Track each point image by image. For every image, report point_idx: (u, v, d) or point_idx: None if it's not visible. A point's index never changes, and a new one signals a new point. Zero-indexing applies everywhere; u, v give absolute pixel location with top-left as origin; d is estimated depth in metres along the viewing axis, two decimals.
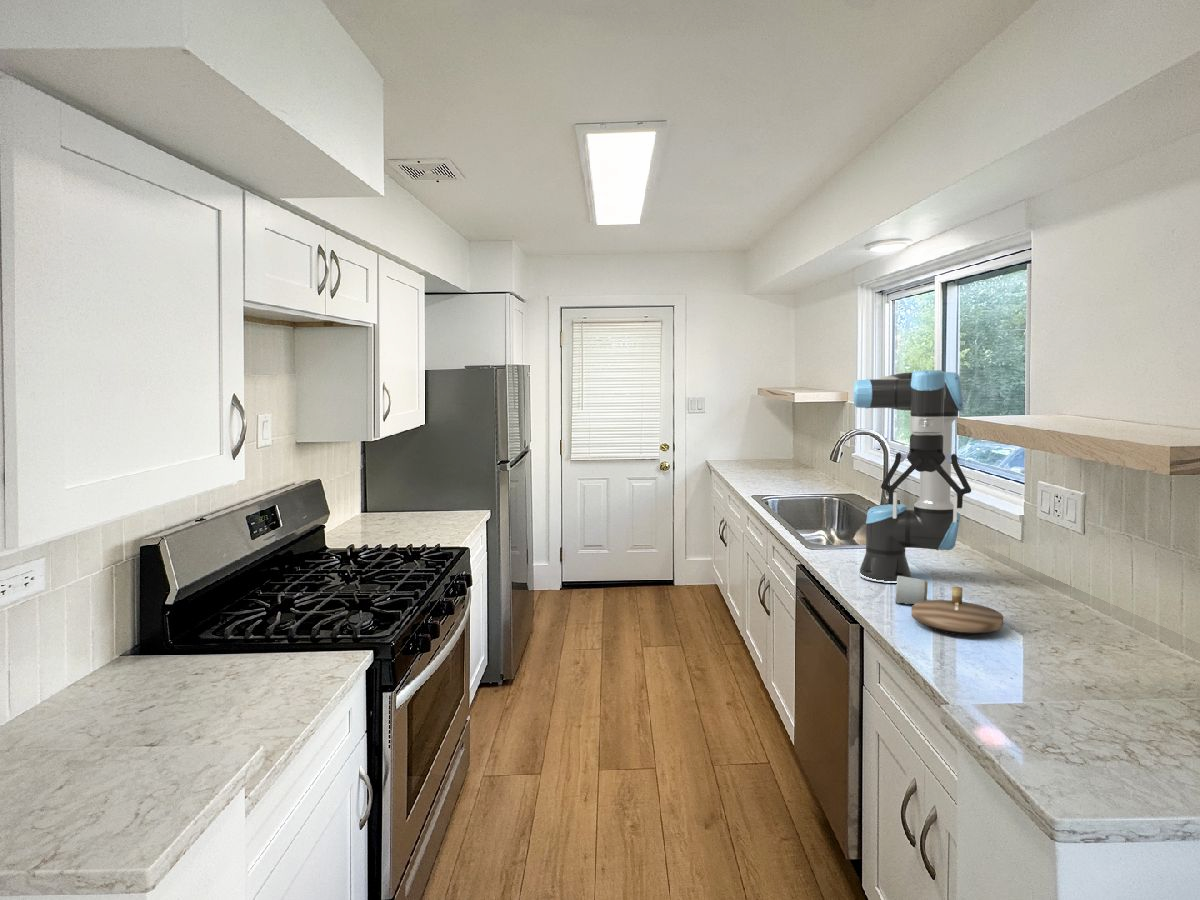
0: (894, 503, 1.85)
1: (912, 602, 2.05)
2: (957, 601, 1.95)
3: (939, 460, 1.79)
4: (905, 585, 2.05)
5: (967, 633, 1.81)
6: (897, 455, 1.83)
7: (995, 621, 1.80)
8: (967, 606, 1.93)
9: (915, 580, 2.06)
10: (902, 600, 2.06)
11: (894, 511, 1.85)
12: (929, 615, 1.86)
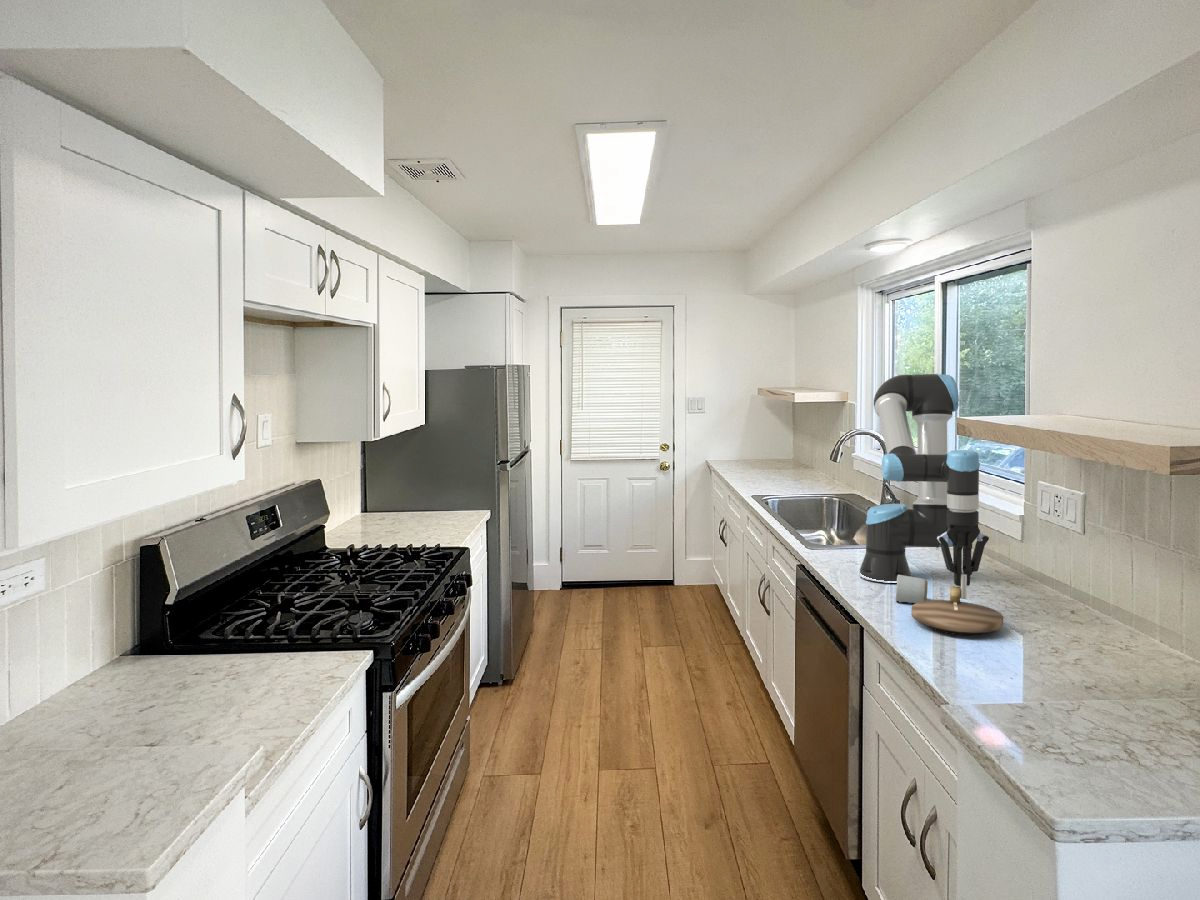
0: None
1: (912, 601, 2.06)
2: (955, 601, 1.95)
3: None
4: (905, 584, 2.06)
5: (967, 633, 1.81)
6: None
7: (996, 620, 1.81)
8: (965, 605, 1.93)
9: (915, 579, 2.07)
10: (902, 599, 2.07)
11: None
12: (930, 615, 1.85)
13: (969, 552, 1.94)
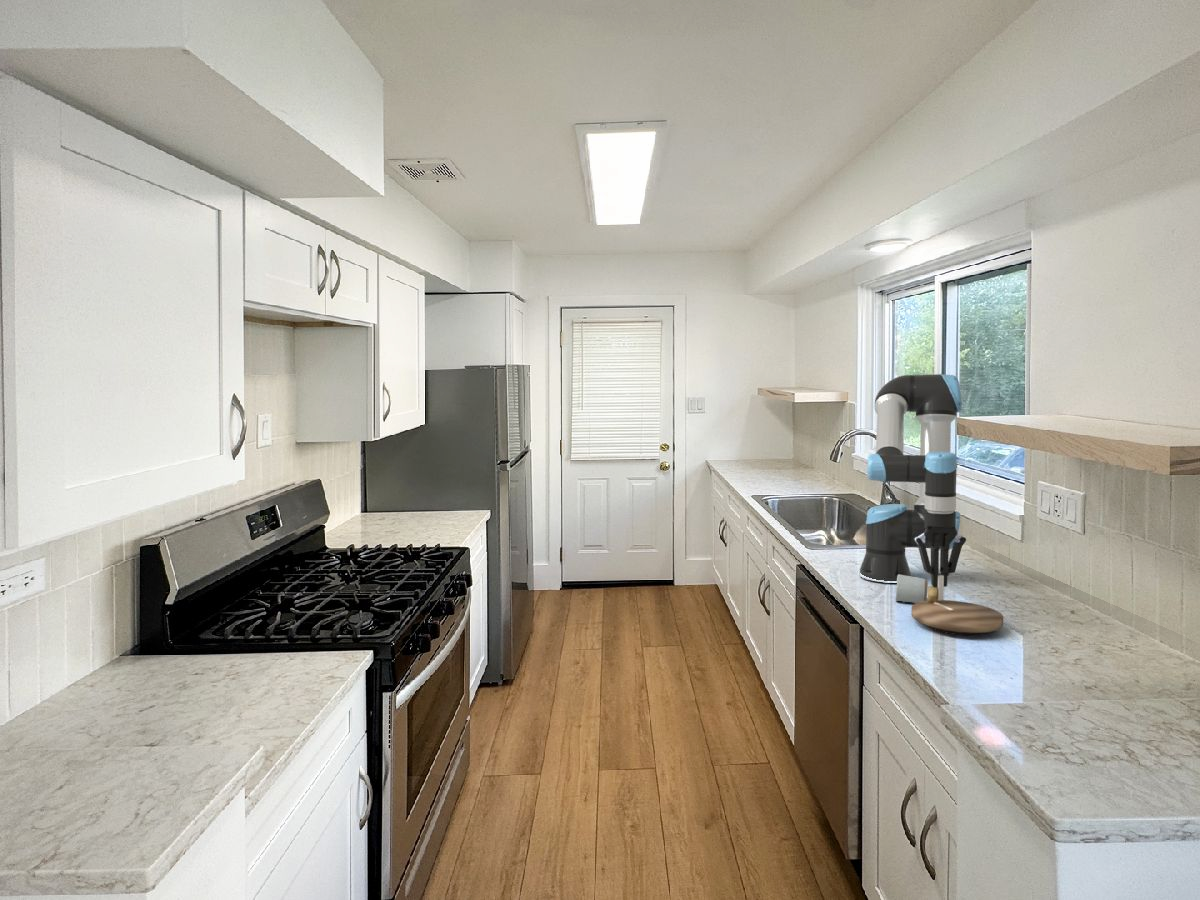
0: None
1: (912, 601, 2.06)
2: (935, 601, 1.96)
3: None
4: (905, 584, 2.06)
5: (967, 633, 1.81)
6: None
7: (998, 613, 1.86)
8: (946, 603, 1.95)
9: (915, 579, 2.07)
10: (902, 599, 2.07)
11: None
12: (951, 620, 1.81)
13: (946, 553, 1.95)
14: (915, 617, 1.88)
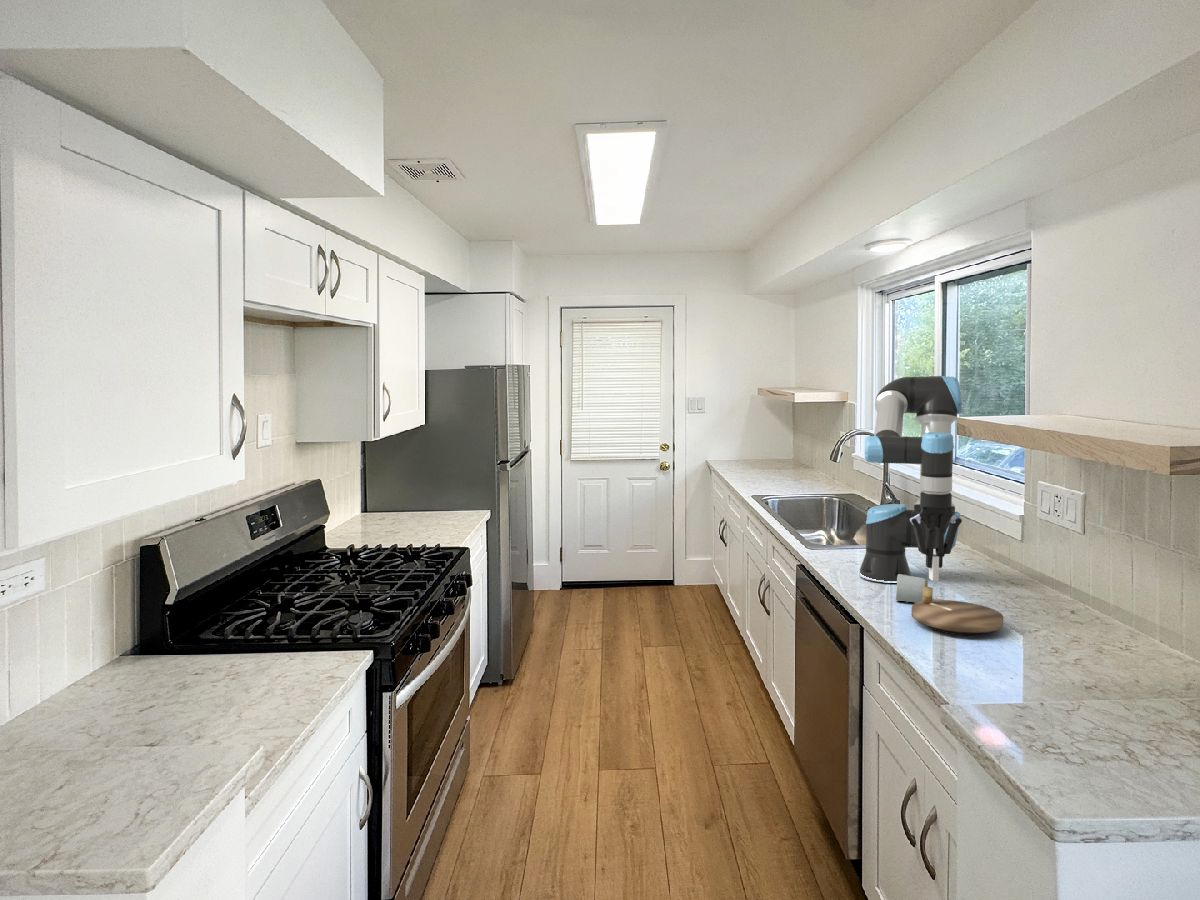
0: None
1: (912, 600, 2.07)
2: (931, 601, 1.95)
3: None
4: (905, 583, 2.07)
5: (967, 633, 1.81)
6: None
7: (995, 611, 1.88)
8: (941, 603, 1.95)
9: (915, 578, 2.07)
10: (902, 598, 2.07)
11: None
12: (958, 621, 1.81)
13: (942, 534, 1.94)
14: (919, 619, 1.86)
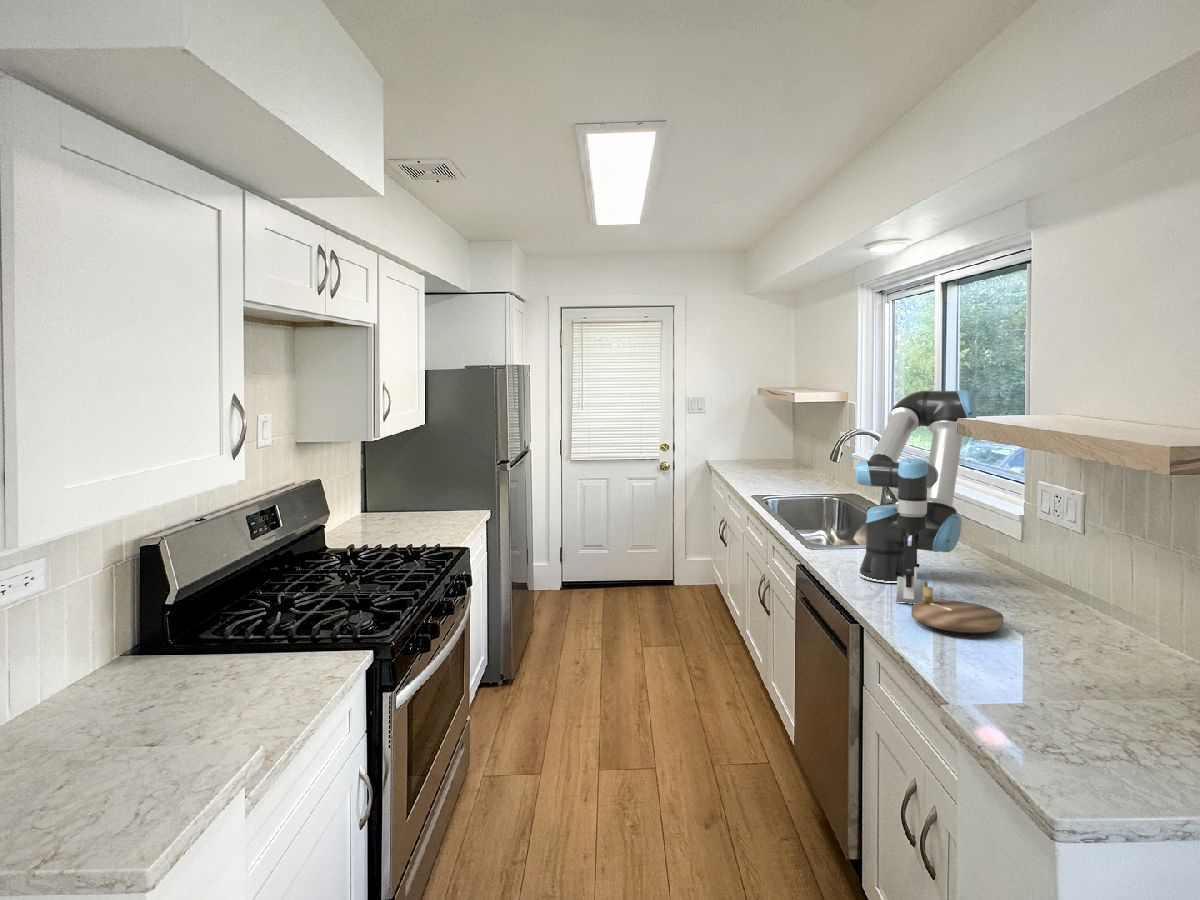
0: None
1: None
2: (931, 601, 1.95)
3: None
4: None
5: (967, 633, 1.81)
6: None
7: (995, 611, 1.88)
8: (941, 603, 1.95)
9: (915, 581, 2.07)
10: (903, 601, 2.07)
11: None
12: (958, 621, 1.81)
13: None
14: (919, 619, 1.86)
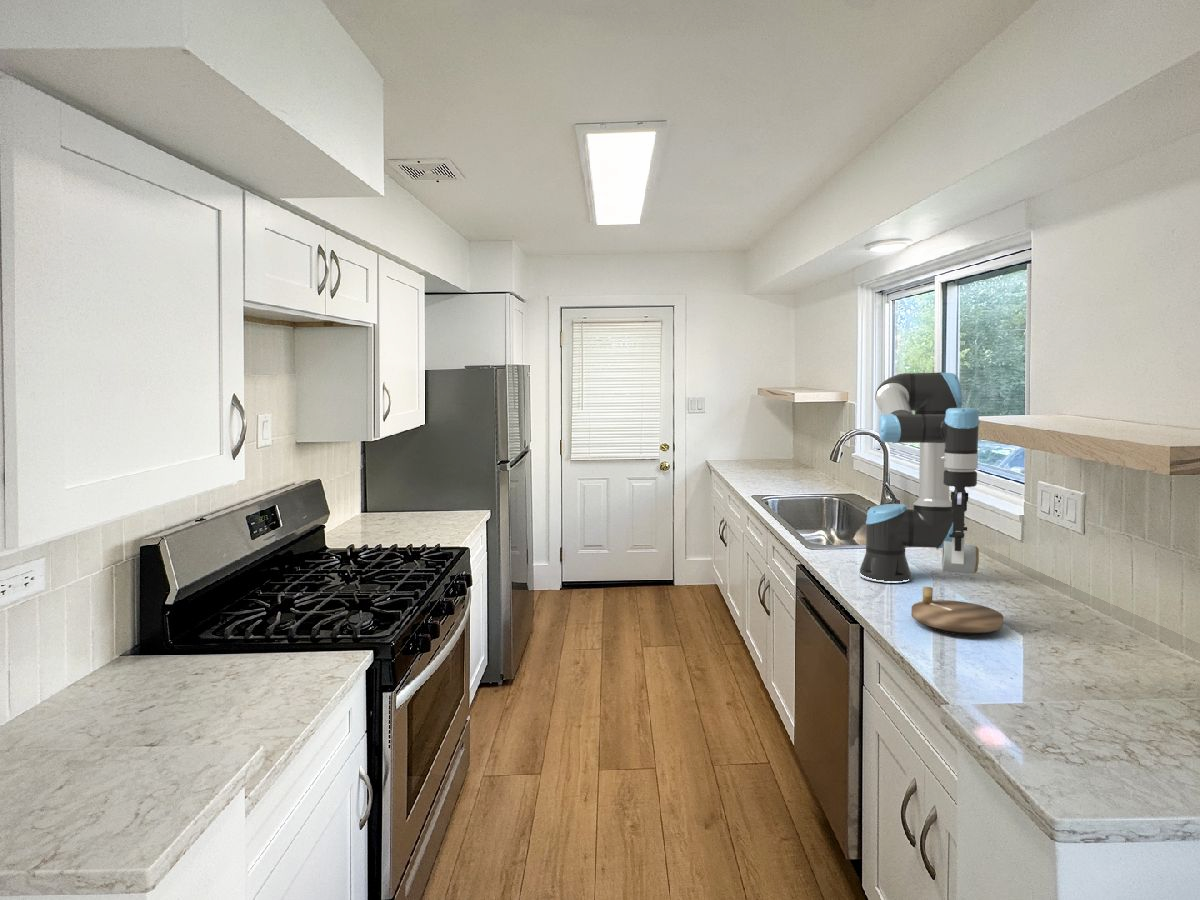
0: None
1: (962, 570, 1.84)
2: (931, 601, 1.95)
3: (954, 496, 1.83)
4: None
5: (967, 633, 1.81)
6: None
7: (995, 611, 1.88)
8: (941, 603, 1.95)
9: (965, 545, 1.85)
10: (950, 568, 1.85)
11: None
12: (958, 621, 1.81)
13: None
14: (919, 619, 1.86)
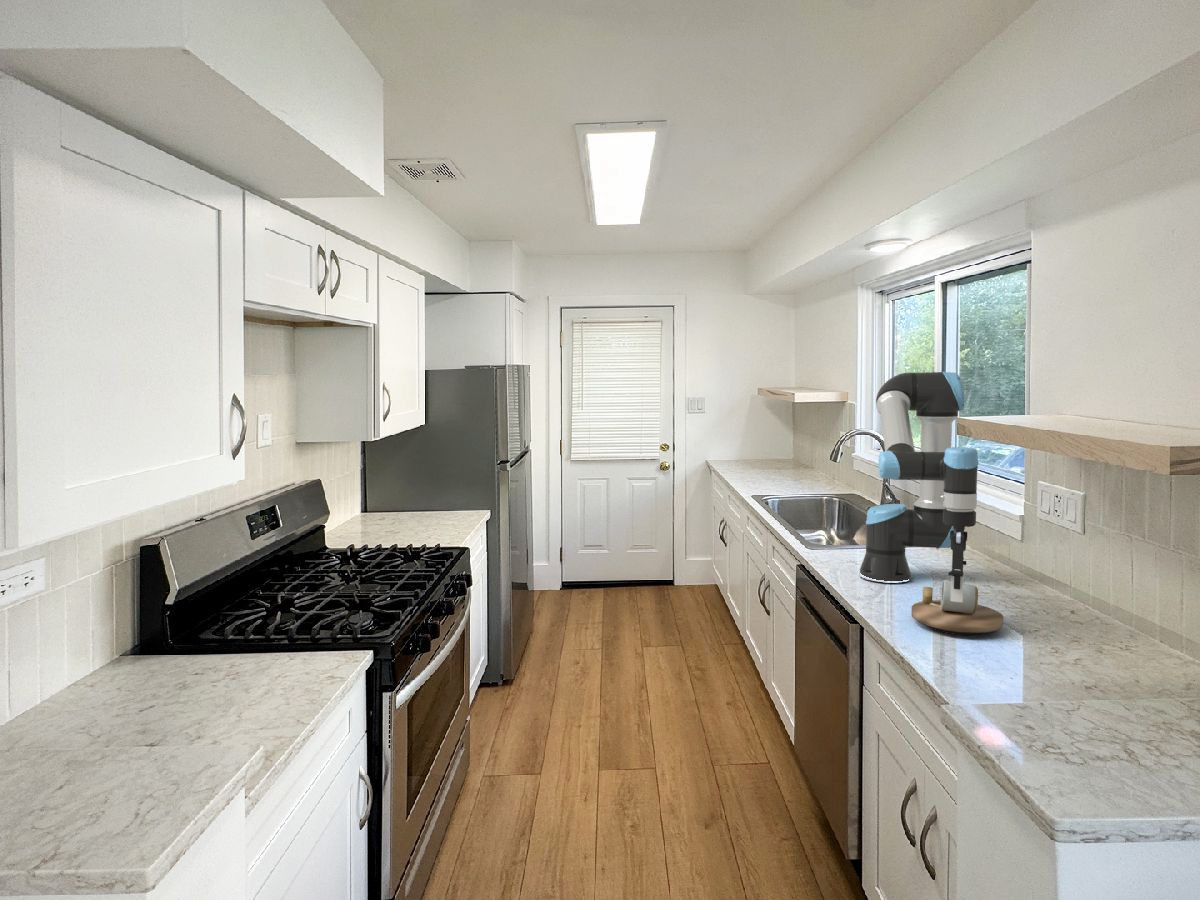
0: None
1: (961, 610, 1.85)
2: (931, 601, 1.95)
3: None
4: None
5: (967, 633, 1.81)
6: None
7: (995, 611, 1.88)
8: None
9: (964, 585, 1.86)
10: (949, 607, 1.86)
11: None
12: (958, 621, 1.81)
13: None
14: (919, 619, 1.86)
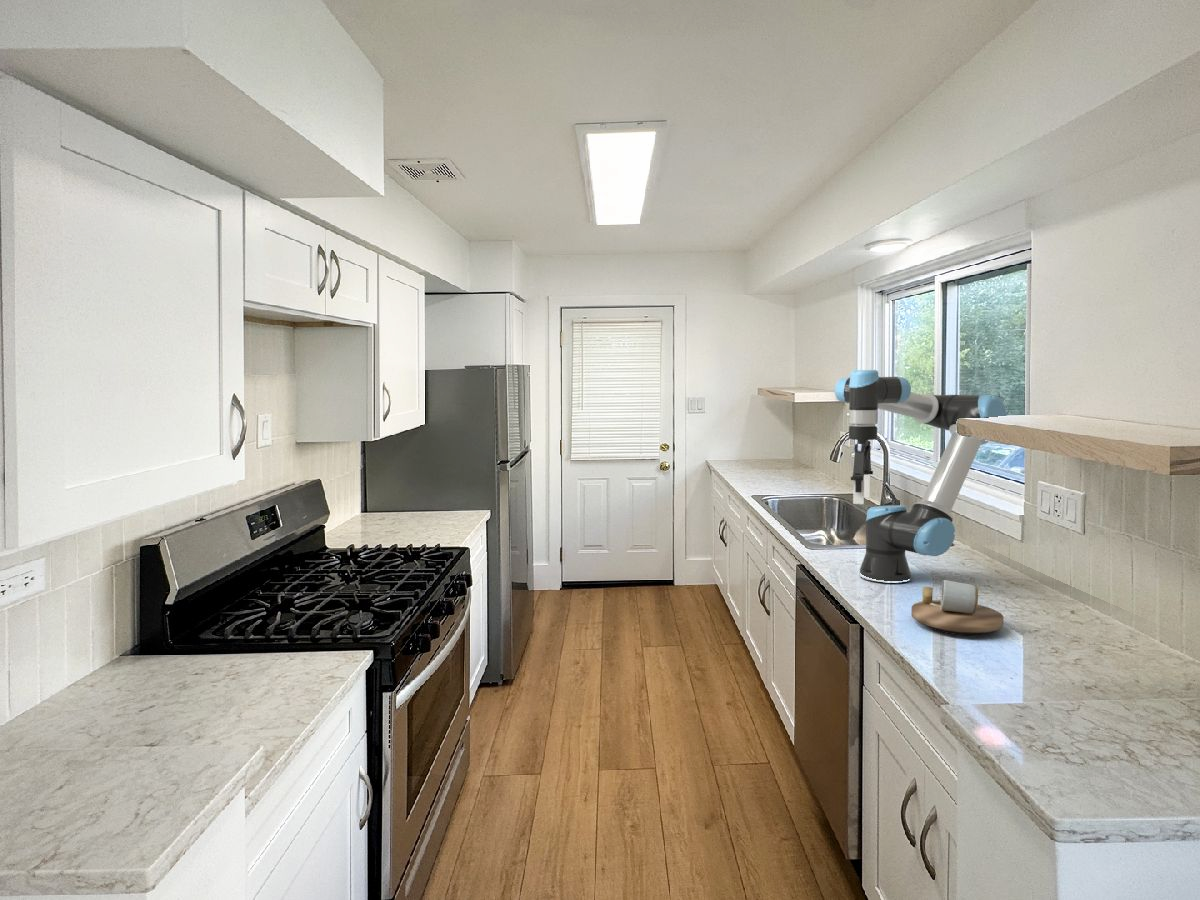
0: None
1: (961, 610, 1.85)
2: (931, 601, 1.95)
3: None
4: (953, 591, 1.85)
5: (967, 633, 1.81)
6: None
7: (995, 611, 1.88)
8: None
9: (964, 585, 1.86)
10: (949, 607, 1.86)
11: None
12: (958, 621, 1.81)
13: (868, 459, 2.12)
14: (919, 619, 1.86)
